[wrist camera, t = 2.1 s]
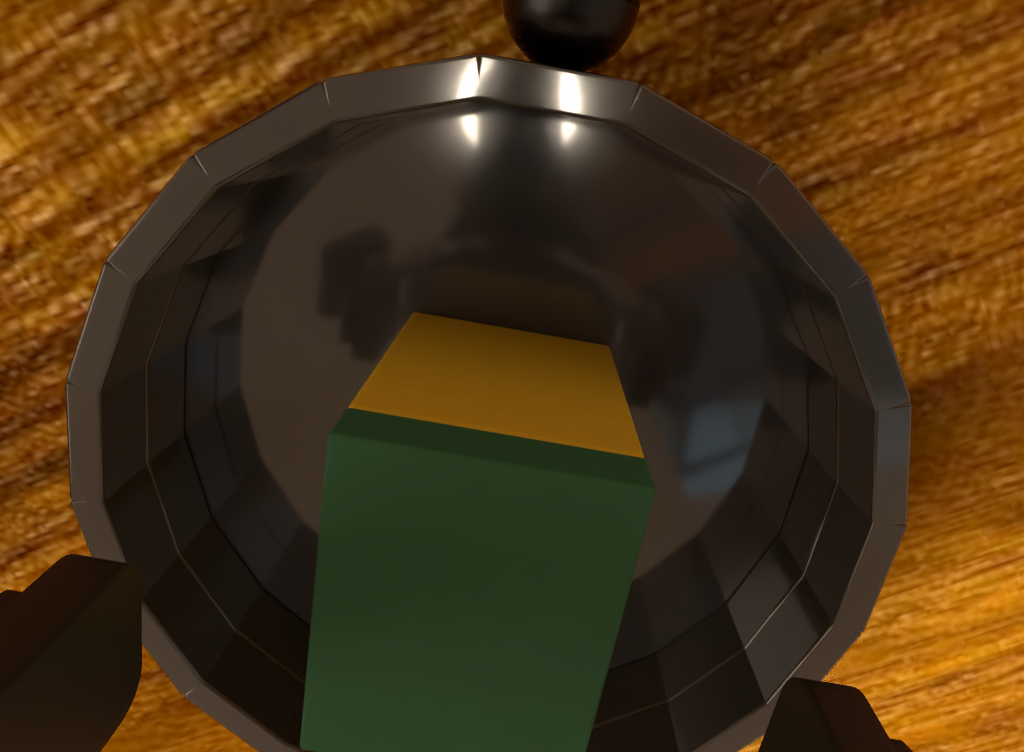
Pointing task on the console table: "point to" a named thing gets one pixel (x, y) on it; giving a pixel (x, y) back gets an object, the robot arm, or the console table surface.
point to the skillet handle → (570, 30)
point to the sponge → (474, 545)
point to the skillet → (510, 304)
